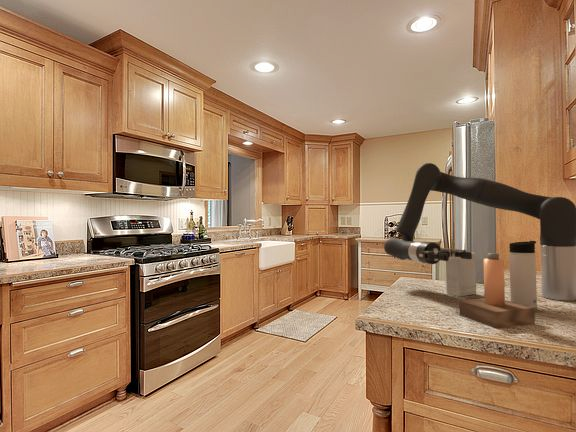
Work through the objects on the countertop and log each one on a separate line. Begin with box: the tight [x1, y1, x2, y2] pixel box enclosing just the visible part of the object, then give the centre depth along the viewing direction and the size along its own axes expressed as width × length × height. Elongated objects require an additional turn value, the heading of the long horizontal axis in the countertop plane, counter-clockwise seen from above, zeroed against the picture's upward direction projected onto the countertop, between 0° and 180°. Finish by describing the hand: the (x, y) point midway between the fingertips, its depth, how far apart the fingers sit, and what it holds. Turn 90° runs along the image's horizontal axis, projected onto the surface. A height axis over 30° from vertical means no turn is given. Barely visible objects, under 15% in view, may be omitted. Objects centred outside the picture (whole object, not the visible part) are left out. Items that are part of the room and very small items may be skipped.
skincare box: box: [445, 251, 477, 297], centre depth 115 cm, size 8×6×15 cm
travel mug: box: [508, 240, 538, 312], centre depth 96 cm, size 6×7×20 cm
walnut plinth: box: [458, 297, 536, 329], centre depth 87 cm, size 12×12×4 cm
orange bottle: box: [482, 252, 506, 306], centre depth 87 cm, size 5×5×14 cm
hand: (459, 256), depth 99 cm, fingers open, 8 cm apart
